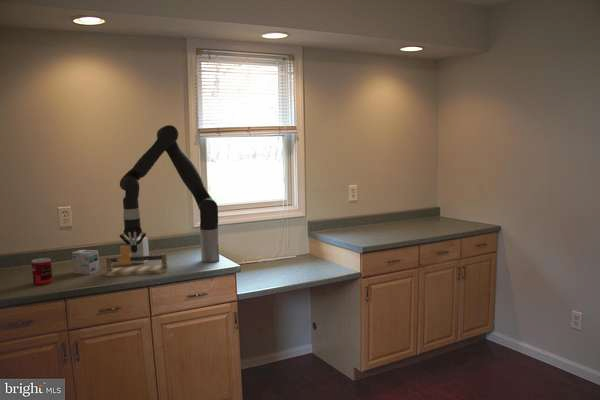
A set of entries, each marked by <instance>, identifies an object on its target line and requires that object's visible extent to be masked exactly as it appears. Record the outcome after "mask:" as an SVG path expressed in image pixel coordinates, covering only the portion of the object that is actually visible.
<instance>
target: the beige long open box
mask: <svg viewBox="0 0 600 400" xmlns="http://www.w3.org/2000/svg"><path fill="white" fill-rule="evenodd" d="M120 255H121V254H118V255H117V256H116V257H113V256H111V255H109V256H107V257H106V258H105V260H106V272H105V277H113V276H127V275H128V276H129V275H131V276H132V275H143V274H144V275H145V274H160V273H161V274H163V273H167V271H168V268H169V264H168V261H167V259H168V258H167V257H168V255H167V253H161V254H159V255H157V254H156V255H149V256H136V257H130V261H143V260H149V261H157V260H161V265H143V266H140V265H139V266H126V267H113V265H114V264H113V263H116V264H117V265H120V264H119V256H120Z"/></svg>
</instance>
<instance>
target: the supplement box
mask: <svg viewBox="0 0 600 400" xmlns="http://www.w3.org/2000/svg"><path fill="white" fill-rule="evenodd" d="M141 237H142V236H141ZM141 237H140V236H139V237H138V239H137V241H139V240H140V238H141ZM148 239H149V238H148V237H146V236H145V237H144V238H143V240H142V241H141V243H140V244H137V248H138V250H137V252H136V253H133V252H131V245H129V252H130V254H131V257H136V256H150V252H149V250H150V249H149V240H148ZM133 242H134V238H133ZM149 261H150V260H143V261H132V263H131V264H145V263H147V262H149Z"/></svg>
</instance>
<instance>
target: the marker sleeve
mask: <svg viewBox="0 0 600 400" xmlns="http://www.w3.org/2000/svg"><path fill="white" fill-rule="evenodd" d="M119 249H120V250H119V251H120V252H119V253H120V254H119V255H120V256H119V264H118V265H120V266H122V265H124V266H125V265H131V264H133V263H132V261H130V257H131V254H130V245H121V246H120V247H119Z"/></svg>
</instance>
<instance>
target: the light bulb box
mask: <svg viewBox="0 0 600 400" xmlns="http://www.w3.org/2000/svg"><path fill="white" fill-rule="evenodd" d="M99 258H100V257H99V250H93V249H92V250H89V249H79V250H75V251H71V260H72V269H73V274H78V275H79V274H80V275H88V276H90V275H94V274H96V273H99V272H100V271H101V270H100V261H99V260H100V259H99Z"/></svg>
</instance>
